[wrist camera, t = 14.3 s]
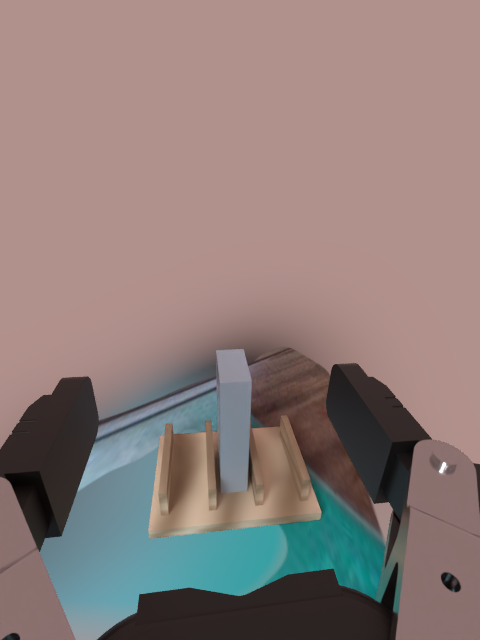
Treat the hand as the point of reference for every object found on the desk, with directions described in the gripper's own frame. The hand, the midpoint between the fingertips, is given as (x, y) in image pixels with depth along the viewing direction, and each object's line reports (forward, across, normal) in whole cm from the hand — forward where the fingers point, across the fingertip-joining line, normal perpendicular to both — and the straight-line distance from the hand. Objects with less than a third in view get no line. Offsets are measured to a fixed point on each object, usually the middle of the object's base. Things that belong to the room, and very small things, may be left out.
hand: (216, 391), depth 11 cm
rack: (+19, -3, +28) cm, 34 cm away
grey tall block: (+19, -3, +27) cm, 33 cm away
